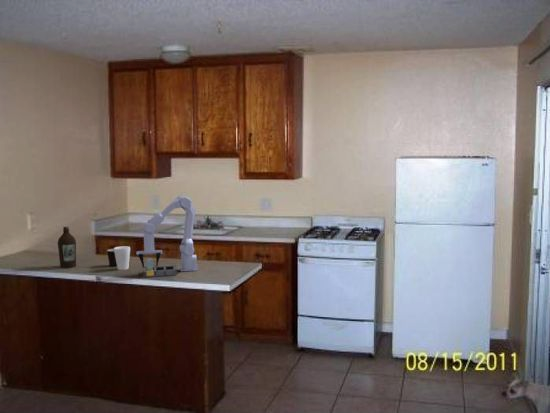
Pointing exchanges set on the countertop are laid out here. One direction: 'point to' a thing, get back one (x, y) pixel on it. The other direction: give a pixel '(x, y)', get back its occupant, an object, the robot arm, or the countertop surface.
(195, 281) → the countertop surface
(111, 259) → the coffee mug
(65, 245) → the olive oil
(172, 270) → the rack
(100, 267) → the countertop surface
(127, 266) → the foam cup
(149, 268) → the panel
